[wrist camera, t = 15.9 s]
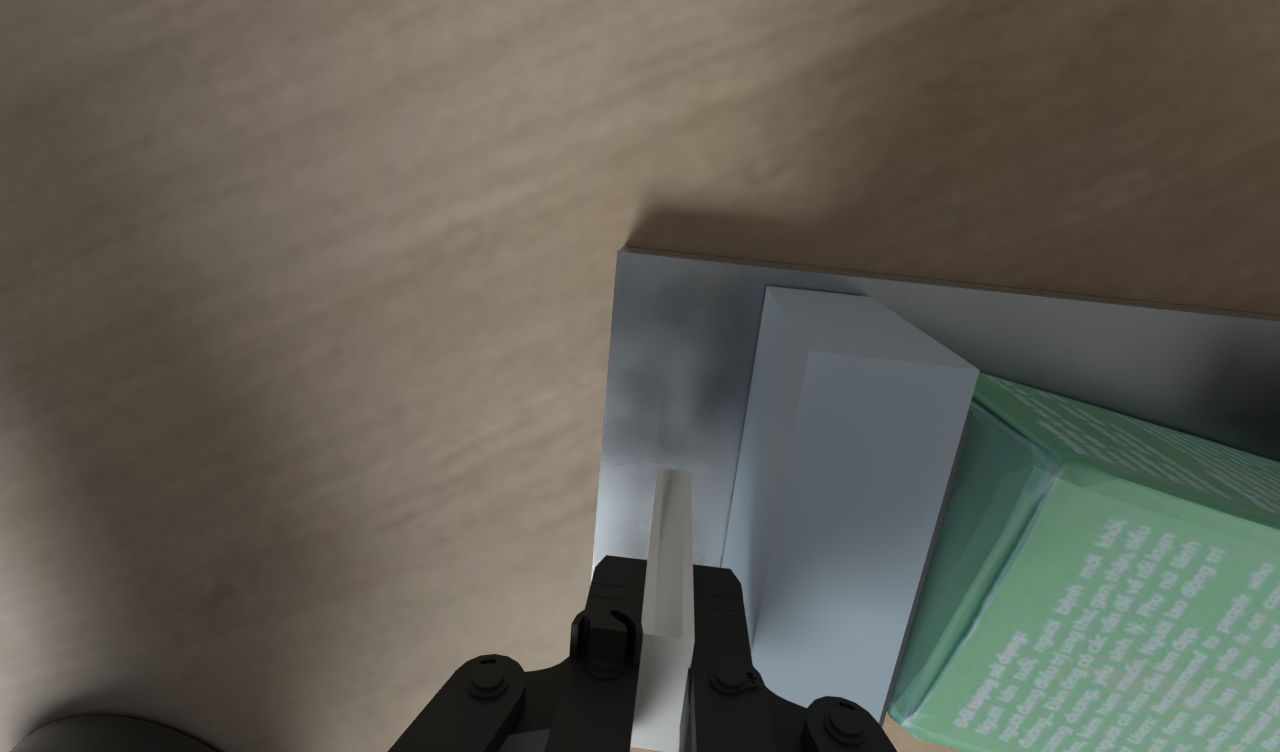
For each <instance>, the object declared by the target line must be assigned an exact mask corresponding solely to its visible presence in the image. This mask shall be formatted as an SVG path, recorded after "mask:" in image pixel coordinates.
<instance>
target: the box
mask: <svg viewBox="0 0 1280 752" xmlns="http://www.w3.org/2000/svg"><path fill="white" fill-rule="evenodd" d="M969 409H970V410H971V411H972V412H973V415H972V418H971V422H970V425H969V429H968V432H967V436H966V439H965V443H964V446H963V449H962V453H961V456H960V460H959V463H958V467H957V470H956V474H955V477H954V481H953V484H952V488H951V491H950V494H949V498H948V501H947V505H946V508H945V512H944V515H943V519H942V522H941V526H940V529H939V532H938V536H937V539H936V543H935V546H934V550H933V553H932V557H931V560H930V564H929V567H928V570H927V574H926V577H925V581H924V584H923V588H922V591H921V595H920V598H919V602H918V605H917V609H916V612H915V615H914V619H913V622H912V626H911V629H910V633H909V636H908V640H907V643H906V647H905V650H904V653H903V657H902V660H901V664H900V667H899V671H898V674H897V678H896V681H895V685H894V688H893V691H892V695H891V698H890V702H889V705H888V709H887V711H888V713H889V716H890V717H891V718H892V719H894V720H895V721H896V722H897V723H898V724H900V725H901V726H902V727H903V728H904V729H906V730H907V731H908V732H909V733H910V734H912V735H913V736H914V737H915V738H917V739H920V740H924V741H927V742H931V743H935V744H938V745H942V746H945V747H949V748H952V749H955V750H959V751H962V752H1280V462H1277V461H1274V460H1270V459H1267V458H1264V457H1260V456H1257V455H1254V454H1251V453H1247V452H1244V451H1241V450H1237V449H1234V448H1231V447H1228V446H1224V445H1221V444H1218V443H1215V442H1212V441H1209V440H1206V439H1202V438H1199V437H1195V436H1192V435H1189V434H1185V433H1182V432H1179V431H1175V430H1172V429H1169V428H1165V427H1162V426H1159V425H1155V424H1152V423H1148V422H1145V421H1142V420H1139V419H1135V418H1132V417H1129V416H1125V415H1122V414H1119V413H1116V412H1112V411H1109V410H1106V409H1103V408H1099V407H1096V406H1093V405H1089V404H1086V403H1083V402H1079V401H1076V400H1072V399H1069V398H1065V397H1062V396H1059V395H1055V394H1052V393H1048V392H1045V391H1042V390H1038V389H1035V388H1031V387H1028V386H1025V385H1021V384H1018V383H1015V382H1011V381H1008V380H1005V379H1001V378H998V377H995V376H991V375H988V374H985V373H982V372H979V375H978V378H977V382H976V385H975V389H974V392H973V396H972V399H971V403H970V406H969Z"/></svg>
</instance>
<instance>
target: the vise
mask: <svg viewBox="0 0 1280 752" xmlns="http://www.w3.org/2000/svg"><path fill="white" fill-rule="evenodd" d="M767 286H773V287H782V288H791V289H800V290H810V291H819V292H828V293H837V294H847V295H856V296H865V297H872V298H874V299H875V300H877V301H878V302H880V303H881V304H883V305H884V306H886V307H887V308H888V309H890V310H891V311H893V312H894V313H896V314H897V315H899V316H900V317H902V318H903V319H905V320H906V321H908V322H909V323H911V324H912V325H914V326H915V327H917V328H918V329H920V330H921V331H923V332H924V333H926V334H927V335H929V336H930V337H932V338H933V339H935V340H936V341H938V342H939V343H941V344H942V345H944V346H945V347H947V348H948V349H950V350H951V351H953V352H954V353H955V354H957V355H958V356H960V357H961V358H963V359H964V360H966V361H967V362H969V363H970V364H972V365H973V366H975V367H976V368H978V369H979V370H980V371H979V372H982V373H985V374H988V375H991V376H995V377H998V378H1001V379H1005V380H1008V381H1011V382H1015V383H1018V384H1021V385H1025V386H1028V387H1031V388H1035V389H1038V390H1042V391H1045V392H1048V393H1052V394H1055V395H1059V396H1062V397H1065V398H1069V399H1072V400H1076V401H1079V402H1083V403H1086V404H1089V405H1093V406H1096V407H1099V408H1103V409H1106V410H1109V411H1112V412H1116V413H1119V414H1122V415H1125V416H1129V417H1132V418H1135V419H1139V420H1142V421H1145V422H1148V423H1152V424H1155V425H1159V426H1162V427H1165V428H1169V429H1172V430H1175V431H1179V432H1182V433H1185V434H1189V435H1192V436H1195V437H1199V438H1202V439H1206V440H1209V441H1212V442H1215V443H1218V444H1221V445H1224V446H1228V447H1231V448H1234V449H1237V450H1241V451H1244V452H1247V453H1251V454H1254V455H1257V456H1260V457H1264V458H1267V459H1270V460H1274V461H1277V462H1280V316H1279V315H1270V314H1260V313H1251V312H1241V311H1232V310H1222V309H1213V308H1203V307H1194V306H1184V305H1175V304H1165V303H1156V302H1146V301H1137V300H1128V299H1118V298H1109V297H1099V296H1090V295H1080V294H1071V293H1061V292H1052V291H1042V290H1033V289H1023V288H1014V287H1004V286H995V285H985V284H976V283H966V282H957V281H947V280H938V279H928V278H919V277H909V276H900V275H890V274H881V273H871V272H862V271H853V270H843V269H834V268H824V267H815V266H805V265H796V264H786V263H777V262H767V261H758V260H748V259H739V258H729V257H720V256H710V255H701V254H691V253H682V252H672V251H663V250H653V249H644V248H634V247H625V246H623V247H622V248H621V249H620V250H619V251H618V252H617V265H616V277H615V289H614V302H613V314H612V327H611V339H610V352H609V364H608V377H607V389H606V401H605V414H604V426H603V439H602V451H601V464H600V476H599V488H598V501H597V513H596V526H595V538H594V551H593V563H592V576H591V582H592V577H593V573H594V569H595V566H596V565H597V564H598V563H599V562H600V561H601V560H602V559H603V558H604V557H605V556H606V555H610V556H619V557H627V558H635V559H643V560H647V553H648V544H649V535H650V526H651V517H652V508H653V499H654V490H655V481H656V472H657V468H663V469H672V470H681V471H688V472H691V507H692V549H693V564H695V565H703V566H711V567H720V568H721V567H722V561H723V555H724V548H725V542H726V536H727V530H728V523H729V517H730V511H731V505H732V499H733V492H734V486H735V480H736V474H737V467H738V461H739V455H740V449H741V443H742V436H743V430H744V424H745V418H746V411H747V405H748V399H749V393H750V387H751V380H752V374H753V368H754V362H755V355H756V349H757V343H758V337H759V331H760V324H761V318H762V312H763V306H764V299H765V293H766V287H767Z"/></svg>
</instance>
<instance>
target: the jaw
mask: <svg viewBox="0 0 1280 752" xmlns="http://www.w3.org/2000/svg"><path fill="white" fill-rule="evenodd" d="M979 371H980V370H979V369H978V368H976V367H975V366H973V365H972V364H970V363H969V362H967V361H966V360H964V359H963V358H961V357H960V356H958V355H957V354H955V353H954V352H953V351H951V350H950V349H948V348H947V347H945V346H944V345H942V344H941V343H939V342H938V341H936V340H935V339H933V338H932V337H930V336H929V335H927V334H926V333H924V332H923V331H921V330H920V329H918V328H917V327H915V326H914V325H912V324H911V323H909V322H908V321H906V320H905V319H903V318H902V317H900V316H899V315H897V314H896V313H894V312H893V311H891V310H890V309H888V308H887V307H886V306H884V305H883V304H881V303H880V302H878V301H877V300H875V299H874V298H872V297H865V296H856V295H847V294H837V293H828V292H819V291H810V290H800V289H791V288H782V287H773V286H767V287H766V293H765V299H764V306H763V312H762V318H761V324H760V331H759V337H758V343H757V349H756V355H755V362H754V368H753V374H752V380H751V387H750V393H749V399H748V405H747V411H746V418H745V424H744V430H743V436H742V443H741V449H740V455H739V461H738V467H737V474H736V480H735V486H734V492H733V499H732V505H731V511H730V517H729V523H728V530H727V536H726V542H725V548H724V555H723V561H722V567H721V568H728V569H731V570H732V572H733V573H734V574H735V576H736V577H737V579H738V580H739V581H740V583H741V586H742V593H743V603H744V607H745V616H746V621H747V628H748V635H749V642H750V649H751V656H752V663H753V667H754V668H755V669H756V670H757V671H758V672H759V673H760V674H761V677H762V679H763V682H764V684H765V686H766V687H767V688H768V689H769V690H771V691H772V692H773V693H775V694H776V695H778V696H780V697H782V698H784V699H786V700H788V701H790V702H793V703H795V704H798V705H800V706H803V707H805V708H808V706H809V705H810V704H811V703H812V702H813V701H814V700H815V699H818V698H821V697H825V696H834V697H842V698H844V699H847V700H850V701H853V702H855V703H857V704H858V705H860V706H861V707H862V708H864V709H865V710H867V711H868V712H869V713H870V714H871V715H872V716H873V717H874V718H875V720H876V721H877V722H878V723H879V724H880V726H881V727H882V726H883V723H884V719H885V716H886V712H887V709H888V705H889V702H890V698H891V695H892V691H893V688H894V685H895V681H896V678H897V674H898V671H899V667H900V664H901V660H902V657H903V653H904V650H905V647H906V643H907V640H908V636H909V633H910V629H911V626H912V622H913V619H914V615H915V612H916V609H917V605H918V602H919V598H920V595H921V591H922V588H923V584H924V581H925V577H926V574H927V570H928V567H929V564H930V560H931V557H932V553H933V550H934V546H935V543H936V539H937V536H938V532H939V529H940V526H941V522H942V519H943V515H944V512H945V508H946V505H947V501H948V498H949V494H950V491H951V488H952V484H953V481H954V477H955V474H956V470H957V467H958V463H959V460H960V456H961V453H962V449H963V446H964V443H965V439H966V436H967V432H968V429H969V425H970V422H971V418H972V415H973V412H972V411H971V410H970V409H969V406H970V403H971V399H972V396H973V392H974V389H975V385H976V382H977V378H978V375H979Z"/></svg>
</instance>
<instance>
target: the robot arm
mask: <svg viewBox="0 0 1280 752" xmlns="http://www.w3.org/2000/svg"><path fill="white" fill-rule="evenodd" d="M630 747H636V748H639V749H647V750H655V751H662V752H678V750H679V752H897V751H896V749H895V748H894V746H893V745H892V743H891V741H890V740H889V738H888V737H887V735H886V734H885V732H884V731H883V729H882V727H881V726H880V724H879V723H878V722H877V721H876V720H875V718H874V717H873V716H872V715H871V714H870V713H869V712H868V711H867V710H865V709H864V708H862V707H861V706H860V705H858V704H857V703H855V702H853V701H850V700H847V699H844V698H842V697H834V696H825V697H821V698H818V699H815V700H814V701H813V702H812V703H811V704H810V705H809V706H808V708H805V707H803V706H800V705H798V704H795V703H793V702H790V701H788V700H786V699H784V698H782V697H780V696H778V695H776V694H775V693H773V692H772V691H771V690H769V689H768V688H767V687H766V686H765V684H764V682H763V679H762V677H761V674H760V673H759V672H758V671H757V670H756V669H755V668H754V667H753V663H752V656H751V649H750V642H749V635H748V628H747V621H746V616H745V607H744V603H743V593H742V586H741V583H740V581H739V580H738V579H737V577H736V576H735V574H734V573H733V572H732V570H731V569H728V568H720V567H711V566H703V565H695V564H693V549H692V507H691V472H688V471H681V470H672V469H663V468H657V472H656V481H655V490H654V499H653V508H652V517H651V526H650V535H649V544H648V553H647V560H643V559H635V558H627V557H619V556H610V555H606V556H605V557H604V558H603V559H602V560H601V561H600V562H599V563H598V564H597V565H596V566H595V569H594V573H593V577H592V582H591V586H590V590H589V594H588V599H587V603H586V607H585V610H583V611H582V612H580V613H579V614H578V615H577V616H576V617H575V619H574V621H573V622H572V626H571V641H570V655H569V657H568V658H567V659H565V660H564V661H563V662H561V663H560V664H557V665H555V666H553V667H551V668H547V669H542V670H537V671H530V672H524V670H523V669H522V667H521V666H520V664H519V663H518V662H516V661H515V660H513V659H511V658H509V657H508V656H502V655H497V654H491V655H483V656H479V657H476V658H474V659H471V660H469V661H467V662H466V663H464V664H463V665H462V666H461V667H460V668H458V669H457V670H456V671H455V672H454V674H453V675H452V676H451V677H450V678H449V680H448V681H447V682H446V683H445V684H444V685H443V687H442V688H441V689H440V690H439V691H438V693H437V694H436V695H435V696H434V697H433V699H432V700H431V701H430V702H429V703H428V704H427V706H426V707H425V708H424V709H423V710H422V712H421V713H420V714H419V715H418V716H417V718H416V719H415V720H414V721H413V722H412V723H411V725H410V726H409V727H408V728H407V729H406V731H405V732H404V733H403V734H402V735H401V737H400V738H399V739H398V740H397V741H396V742H395V744H394V745H393V746H392V747H391V748H390V750H389V751H388V752H630ZM10 752H216V751H214V750H212V749H211V748H209V747H207V746H206V745H204V744H202V743H200V742H198V741H196V740H194V739H192V738H190V737H188V736H186V735H183V734H181V733H179V732H176V731H174V730H171V729H168V728H166V727H163V726H160V725H157V724H153V723H150V722H146V721H142V720H138V719H132V718H127V717H120V716H110V715H84V716H76V717H70V718H65V719H61V720H58V721H54V722H52V723H49V724H47V725H45V726H43V727H41V728H39V729H37V730H36V731H34V732H33V733H31V734H30V735H29V736H28V737H27V738H25V739H24V740H23V741H22V742H21V743H19V744H18V745H17V746H16V747H15V748H13V749H12V750H11V751H10Z"/></svg>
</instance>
